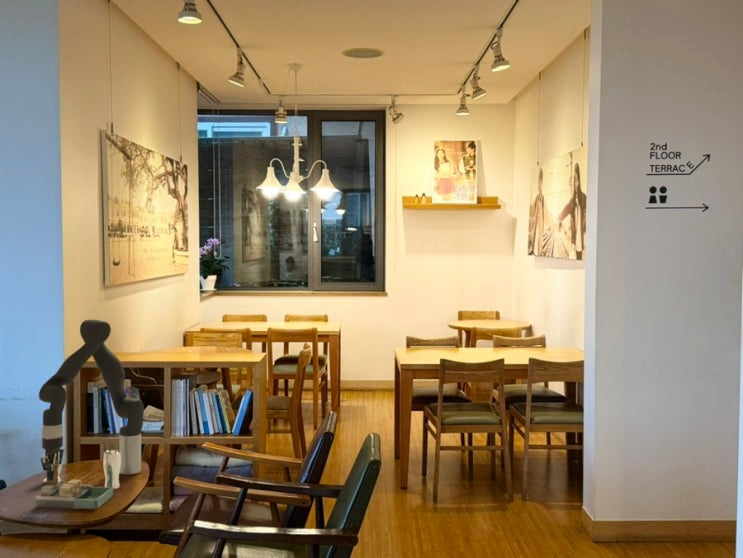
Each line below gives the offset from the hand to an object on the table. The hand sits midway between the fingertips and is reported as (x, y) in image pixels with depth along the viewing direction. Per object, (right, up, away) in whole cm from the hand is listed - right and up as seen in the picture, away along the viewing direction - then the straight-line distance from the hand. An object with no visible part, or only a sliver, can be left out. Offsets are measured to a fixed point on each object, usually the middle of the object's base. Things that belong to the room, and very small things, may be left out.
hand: (52, 478), depth 273 cm
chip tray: (+17, -9, -1) cm, 19 cm away
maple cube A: (+8, -6, +3) cm, 10 cm away
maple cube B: (+7, -6, -3) cm, 10 cm away
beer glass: (+17, -9, +17) cm, 26 cm away
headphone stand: (-11, -8, +24) cm, 28 cm away
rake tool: (0, -5, 0) cm, 5 cm away
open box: (+5, -9, 0) cm, 10 cm away
